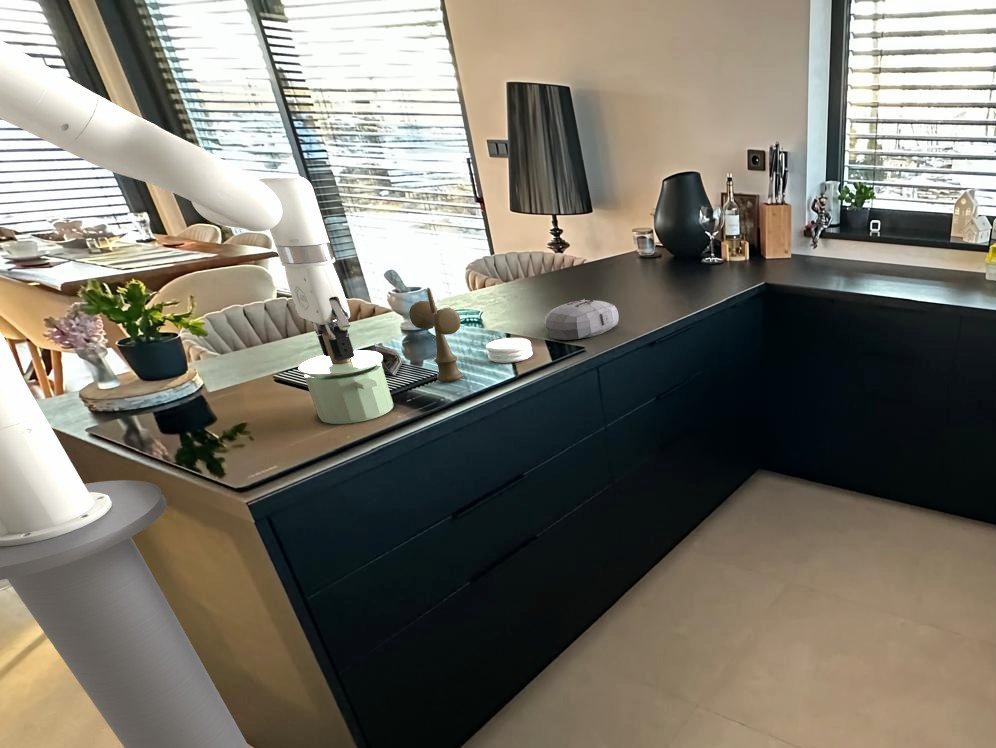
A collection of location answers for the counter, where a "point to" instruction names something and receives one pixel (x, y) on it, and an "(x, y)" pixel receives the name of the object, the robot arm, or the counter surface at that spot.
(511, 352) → the coaster
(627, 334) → the counter surface
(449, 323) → the kendama
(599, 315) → the grey rounded bag
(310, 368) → the lid
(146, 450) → the counter surface
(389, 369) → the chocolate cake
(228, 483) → the counter surface
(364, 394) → the pot
